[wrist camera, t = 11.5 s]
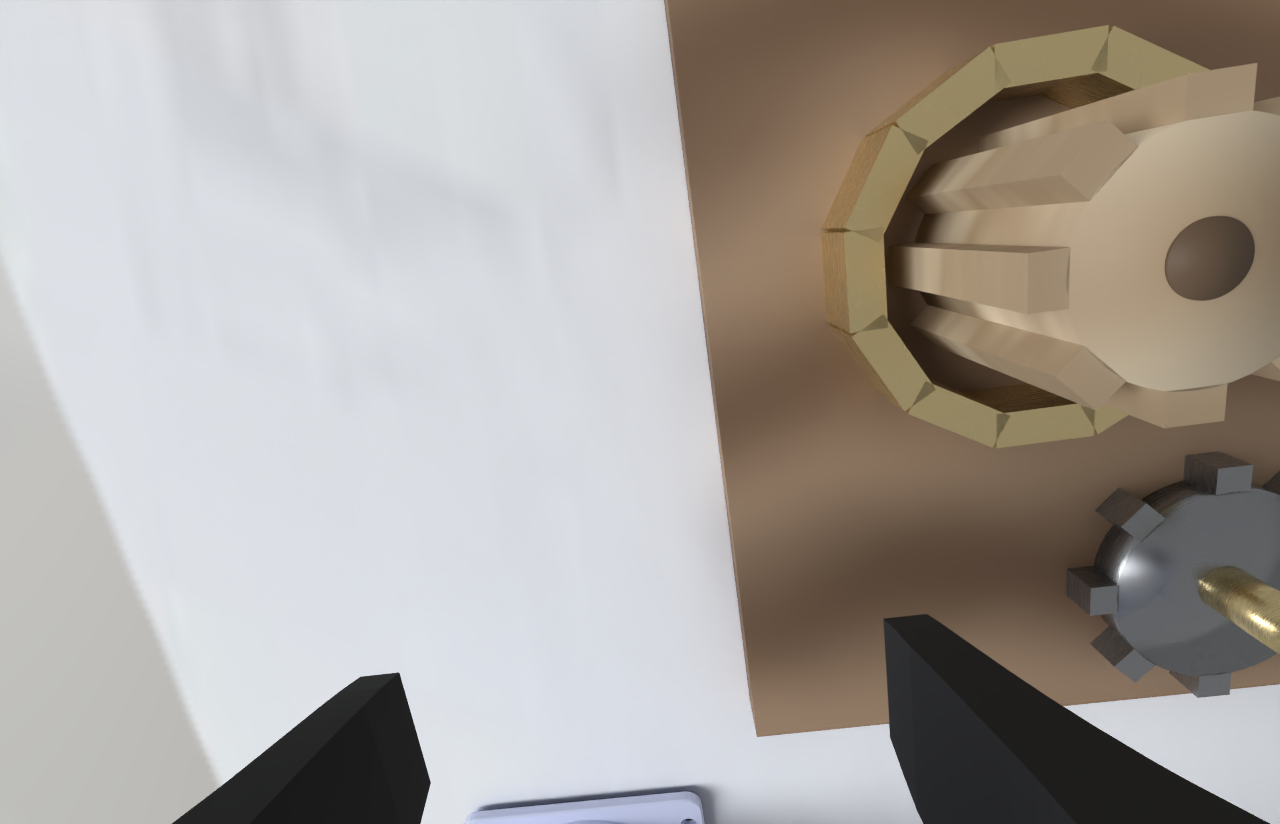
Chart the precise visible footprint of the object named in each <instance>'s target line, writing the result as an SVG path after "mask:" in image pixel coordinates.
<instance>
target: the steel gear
mask: <svg viewBox="0 0 1280 824" xmlns="http://www.w3.org/2000/svg"><path fill="white" fill-rule="evenodd" d="M1252 473H1253V464H1250V463H1248V462H1245V461H1242V460H1240V459H1237V458H1235V457H1232V456H1230V455H1227V454H1224V453H1222V452H1219V451H1216V452H1208V453H1200V454H1192V455H1185V467H1184V480H1183V481H1179V482H1176V483H1173V484H1170V485H1168V486H1165V487H1163V488H1160V489H1158V490H1156V491H1155V492H1153V493H1151V494H1149V495H1147V496H1146V497H1144V498H1143V499H1141V500H1140V499H1138V498H1136V497H1134V496H1132V495H1131V494H1129V493H1127V492H1125V491H1123V490H1122V489H1120V488H1117V489H1116V490H1115V491H1114V492H1113V493H1112V494H1111V495H1110V496H1109V497H1108V498H1107V499H1106V500H1105V501H1104V502H1103V503H1102V504H1101V505H1100V506H1099V507H1098V508H1097V509H1096V510H1095V511H1096V512H1097V513H1099V514H1100V515H1101V516H1102V517H1104V518H1105V519H1106V520H1108V521H1109V522H1110V523H1111V524H1113V526H1112V527H1111V529H1110V530H1109V531H1108V533H1107V534H1106V536H1105V538H1104V540H1103V541H1102V543H1101V545H1100V547H1099V550H1098V552H1097V555H1096V557H1095V561H1094V565H1093V566H1086V567H1077V568H1068V569H1067V585H1066V595H1067V596H1068V597H1069V598H1070V599H1071V600H1073V601H1074V602H1075V603H1076V604H1077V605H1078V606H1079V607H1080V608H1082V609H1083V610H1084V611H1085V612H1086V613H1087V614H1088V615H1089V616H1093V615H1101V617H1102V619H1103V620H1104V621H1105V623H1106V624H1107V625H1108V627H1107V628H1106V629H1105V630H1104V631H1103V632H1102V633H1101V634H1100V635H1099V636H1098V637H1096V638H1095V639H1094V640H1093V641H1092V642H1091V643H1090V644H1091V645H1092V646H1093V647H1094V648H1095V649H1096V650H1097V651H1098V652H1099V653H1100V654H1101V655H1102V656H1104V657H1105V658H1106V659H1107V660H1108V661H1109V662H1110V663H1111V664H1112V665H1113V666H1114V667H1115V668H1117V669H1118V670H1119V671H1121V672H1122V673H1123V674H1125V675H1126V676H1127V677H1129V678H1130V679H1131V680H1133V681H1134V682H1135V683H1136V682H1137V681H1138V680H1139V679H1140V678H1142V677H1143V676H1144V675H1145V674H1146V673H1147V672H1148V671H1150V670H1151V669H1152V668H1153V667H1154V666H1155V665H1157V666H1159V667H1161V668H1163V669H1166V670H1169V673H1170V674H1171V675H1172V676H1173V677H1174V678H1175V679H1177V680H1178V681H1179V682H1180V683H1181V684H1182V685H1184V686H1185V687H1186V688H1187V689H1188V690H1189V691H1191V692H1192V693H1193V694H1194V695H1195V696H1196V697H1198V698H1199V697H1209V696H1219V695H1229V693H1230V683H1231V674H1232V672H1235V671H1239V670H1243V669H1246V668H1248V667H1251V666H1254V665H1256V664H1258V663H1261V662H1263V661H1265V660H1267V659H1269V658H1271V657H1272V656H1274V655H1276V654H1277V653H1278V654H1279V655H1280V471H1278V472H1277V473H1276V474H1275V475H1274V476H1273V477H1272V478H1271V479H1270V480H1269V481H1268V482H1266V483H1265V484H1264V485H1263V486H1262V487H1260V486H1257V485H1255V484H1253V483H1251V482H1252Z"/></svg>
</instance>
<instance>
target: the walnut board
mask: <svg viewBox="0 0 1280 824" xmlns="http://www.w3.org/2000/svg"><path fill="white" fill-rule="evenodd" d="M664 3H665V11H666V19H667V27H668V36H669V44H670V52H671V60H672V68H673V76H674V84H675V93H676V101H677V109H678V117H679V125H680V133H681V142H682V150H683V158H684V166H685V174H686V182H687V190H688V199H689V207H690V215H691V223H692V231H693V239H694V247H695V256H696V264H697V272H698V280H699V288H700V296H701V305H702V313H703V321H704V329H705V337H706V345H707V353H708V362H709V370H710V378H711V386H712V394H713V402H714V410H715V419H716V427H717V435H718V443H719V451H720V459H721V468H722V476H723V484H724V492H725V500H726V508H727V516H728V525H729V533H730V541H731V549H732V557H733V565H734V573H735V582H736V590H737V598H738V606H739V614H740V622H741V630H742V639H743V647H744V655H745V663H746V671H747V679H748V688H749V696H750V703H751V708H752V713H753V718H754V723H755V729H756V734H757V737H761V736H771V735H781V734H791V733H800V732H810V731H820V730H830V729H840V728H850V727H860V726H870V725H880V724H889V708H888V691H887V673H886V656H885V638H884V621H883V619H884V618H893V617H902V616H911V615H920V614H928V615H930V616H931V617H933V618H934V619H936V620H937V621H939V622H940V623H942V624H943V625H944V626H946V627H947V628H949V629H950V630H952V631H953V632H954V633H956V634H957V635H959V636H960V637H962V638H963V639H964V640H966V641H967V642H969V643H970V644H972V645H973V646H974V647H976V648H977V649H979V650H980V651H982V652H983V653H984V654H986V655H987V656H989V657H990V658H992V659H993V660H995V661H996V662H997V663H999V664H1000V665H1002V666H1003V667H1005V668H1006V669H1008V670H1009V671H1010V672H1012V673H1013V674H1015V675H1016V676H1018V677H1019V678H1021V679H1022V680H1024V681H1025V682H1027V683H1028V684H1030V685H1031V686H1033V687H1034V688H1036V689H1037V690H1039V691H1040V692H1042V693H1043V694H1045V695H1046V696H1048V697H1049V698H1051V699H1052V700H1054V701H1056V702H1057V703H1059V704H1060V705H1062V706H1068V705H1078V704H1088V703H1098V702H1108V701H1118V700H1128V699H1138V698H1148V697H1157V696H1167V695H1177V694H1187V693H1192V692H1191V691H1189V690H1188V689H1187V688H1186V687H1185V686H1184V685H1182V684H1181V683H1180V682H1179V681H1178V680H1177V679H1175V678H1174V677H1173V676H1172V675H1171V674H1170V673H1169V670H1166V669H1163V668H1161V667H1159V666H1157V665H1155V666H1154V667H1153V668H1152V669H1151V670H1150V671H1148V672H1147V673H1146V674H1145V675H1144V676H1143V677H1142V678H1140V679H1139V680H1138V681H1137V682H1136V683H1135V682H1134V681H1133V680H1131V679H1130V678H1129V677H1127V676H1126V675H1125V674H1123V673H1122V672H1121V671H1119V670H1118V669H1117V668H1115V667H1114V666H1113V665H1112V664H1111V663H1110V662H1109V661H1108V660H1107V659H1106V658H1105V657H1104V656H1102V655H1101V654H1100V653H1099V652H1098V651H1097V650H1096V649H1095V648H1094V647H1093V646H1092V645H1091V644H1090V643H1091V642H1092V641H1093V640H1094V639H1095V638H1096V637H1098V636H1099V635H1100V634H1101V633H1102V632H1103V631H1104V630H1105V629H1106V628H1107V627H1108V625H1107V624H1106V623H1105V621H1104V620H1103V619H1102V617H1101V615H1093V616H1089V615H1088V614H1087V613H1086V612H1085V611H1084V610H1083V609H1082V608H1080V607H1079V606H1078V605H1077V604H1076V603H1075V602H1074V601H1073V600H1071V599H1070V598H1069V597H1068V596H1067V595H1066V585H1067V569H1068V568H1077V567H1086V566H1093V565H1094V561H1095V557H1096V555H1097V552H1098V550H1099V547H1100V545H1101V543H1102V541H1103V540H1104V538H1105V536H1106V534H1107V533H1108V531H1109V530H1110V529H1111V527H1112V526H1113V524H1111V523H1110V522H1109V521H1108V520H1106V519H1105V518H1104V517H1102V516H1101V515H1100V514H1099V513H1097V512H1096V511H1095V510H1096V509H1097V508H1098V507H1099V506H1100V505H1101V504H1102V503H1103V502H1104V501H1105V500H1106V499H1107V498H1108V497H1109V496H1110V495H1111V494H1112V493H1113V492H1114V491H1115V490H1116V489H1117V488H1120V489H1122V490H1123V491H1125V492H1127V493H1129V494H1131V495H1132V496H1134V497H1136V498H1138V499H1140V500H1141V499H1143V498H1144V497H1146V496H1147V495H1149V494H1151V493H1153V492H1155V491H1156V490H1158V489H1160V488H1163V487H1165V486H1168V485H1170V484H1173V483H1176V482H1179V481H1183V480H1184V467H1185V455H1192V454H1200V453H1208V452H1216V451H1219V452H1222V453H1224V454H1227V455H1230V456H1232V457H1235V458H1237V459H1240V460H1242V461H1245V462H1248V463H1250V464H1253V473H1252V482H1251V483H1253V484H1255V485H1257V486H1260V487H1262V486H1263V485H1264V484H1265V483H1266V482H1268V481H1269V480H1270V479H1271V478H1272V477H1273V476H1274V475H1275V474H1276V473H1277V472H1278V471H1280V381H1277V380H1273V379H1269V378H1264V377H1260V376H1256V375H1252V374H1250V375H1247V376H1245V377H1243V378H1240V379H1238V380H1236V381H1233V382H1230V383H1227V384H1228V386H1227V396H1226V407H1225V418H1224V421H1219V422H1211V423H1203V424H1195V425H1187V426H1179V427H1171V428H1162V427H1159V426H1157V425H1154V424H1151V423H1149V422H1146V421H1144V420H1141V419H1138V418H1136V417H1133V416H1131V415H1128V416H1126V417H1124V418H1123V419H1121V420H1120V421H1118V422H1117V423H1115V424H1114V425H1112V426H1110V427H1109V428H1107V429H1106V430H1104V431H1103V432H1101V433H1100V434H1096V433H1094V436H1090V437H1082V438H1074V439H1066V440H1058V441H1050V442H1042V443H1035V444H1027V445H1019V446H1011V447H1003V448H995V447H994V446H993V448H992V447H989V446H987V445H984V444H982V443H979V442H977V441H974V440H972V439H969V438H967V437H964V436H962V435H959V434H957V433H954V432H952V431H949V430H947V429H944V428H942V427H939V426H937V425H934V424H932V423H929V422H927V421H924V420H922V419H919V418H917V417H914V416H912V415H909V414H907V413H906V412H905V411H903V410H902V409H900V408H899V407H898V406H896V405H895V404H893V403H892V402H891V401H889V400H888V399H887V398H885V397H884V396H882V395H881V394H880V393H878V392H877V391H876V390H875V389H874V388H873V386H872V385H871V383H870V382H869V381H868V379H867V378H866V376H865V375H864V374H863V372H862V371H861V370H860V368H859V367H858V365H857V364H856V363H855V361H854V360H853V358H852V357H851V356H850V354H849V353H848V351H847V350H846V349H845V347H844V346H843V345H842V343H841V342H840V340H839V339H838V338H837V336H836V335H835V333H834V332H833V331H832V329H831V328H830V327H829V325H828V324H830V322H828V321H827V316H826V303H825V289H824V275H823V261H822V248H821V234H820V233H823V232H828V231H825V230H823V229H821V228H822V226H823V224H824V221H825V219H826V217H827V215H828V213H829V210H830V208H831V206H832V204H833V202H834V199H835V197H836V195H837V193H838V191H839V188H840V186H841V184H842V182H843V180H844V177H845V175H846V173H847V171H848V169H849V166H850V164H851V162H852V160H853V158H854V155H855V153H856V151H857V149H858V147H859V144H860V142H861V140H862V139H864V138H866V137H865V135H866V134H867V133H869V132H870V131H871V130H872V129H874V128H875V127H876V126H877V125H879V124H880V123H881V122H883V121H884V120H885V119H886V118H888V117H889V116H890V115H891V114H893V113H894V112H895V111H896V110H898V109H899V108H900V107H901V106H903V105H904V104H905V103H906V102H908V101H909V100H910V99H911V98H913V97H914V96H915V95H917V94H918V93H919V92H920V91H922V90H923V89H924V88H925V87H927V86H928V85H929V84H930V83H932V82H933V81H934V80H935V79H937V78H938V77H939V76H940V75H942V74H943V73H944V72H946V71H947V70H949V69H951V68H953V67H954V66H956V65H958V64H960V63H961V62H963V61H965V60H967V59H968V58H970V57H972V56H974V55H975V54H977V53H979V52H981V51H982V50H984V49H986V48H988V47H989V46H992V45H994V44H998V43H1004V42H1010V41H1016V40H1022V39H1028V38H1034V37H1040V36H1046V35H1052V34H1058V33H1064V32H1070V31H1076V30H1082V29H1088V28H1094V27H1100V26H1106V25H1109V27H1112V26H1116V27H1118V28H1120V29H1122V30H1124V31H1127V32H1129V33H1131V34H1133V35H1135V36H1137V37H1140V38H1142V39H1144V40H1146V41H1148V42H1150V43H1153V44H1155V45H1157V46H1159V47H1161V48H1163V49H1166V50H1168V51H1170V52H1172V53H1174V54H1177V55H1179V56H1181V57H1183V58H1185V59H1187V60H1190V61H1192V62H1194V63H1196V64H1198V65H1200V66H1203V67H1205V68H1207V69H1209V70H1215V69H1221V68H1228V67H1234V66H1240V65H1247V64H1253V63H1257V74H1256V84H1255V95H1254V102H1258V101H1262V100H1267V99H1271V98H1276V97H1280V0H664ZM1067 110H1071V109H1070V108H1068V107H1066V106H1064V105H1062V104H1059V103H1057V102H1055V101H1053V100H1050V99H1048V98H1046V97H1044V96H1041V95H1033V96H1026V97H1020V98H1014V99H1008V100H1002V101H996V102H989V103H984V104H982V105H981V106H980V107H979V108H977V109H976V110H975V111H973V112H972V113H971V114H970V115H968V116H967V117H966V118H964V119H963V120H962V121H961V122H959V123H958V124H957V125H955V126H954V127H953V128H951V129H950V130H949V131H948V132H946V133H945V134H944V135H942V136H941V137H940V138H939V139H937V140H936V141H935V142H933V143H932V144H931V145H930V146H928V147H927V148H926V149H925V150H924V152H923V154H922V156H921V158H920V160H919V162H918V164H917V166H916V168H915V170H914V173H913V175H912V177H911V179H910V181H909V183H908V185H907V187H906V189H905V191H904V193H903V195H902V197H901V200H900V202H899V204H898V206H897V208H896V210H895V212H894V214H893V216H892V218H891V220H890V222H889V225H888V227H887V229H886V231H885V233H884V256H885V277H886V297H887V318H888V321H889V323H890V324H891V326H892V327H893V329H894V330H895V331H896V333H897V334H898V336H899V337H900V339H901V340H902V341H903V343H904V344H905V346H906V347H907V349H908V350H909V351H910V353H911V354H912V356H913V357H914V359H915V360H916V361H917V363H918V364H919V366H920V367H921V369H922V370H923V372H924V373H925V374H926V376H927V377H928V378H930V379H933V380H935V381H938V382H940V383H943V384H945V385H947V386H950V387H952V388H955V389H957V390H960V391H962V392H966V391H973V390H981V389H988V388H996V387H1003V386H1011V385H1018V384H1026V382H1024V381H1021V380H1019V379H1016V378H1014V377H1011V376H1009V375H1006V374H1004V373H1001V372H999V371H996V370H994V369H991V368H989V367H986V366H984V365H982V364H979V363H977V362H974V361H972V360H969V359H967V358H964V357H962V356H959V355H957V354H954V353H952V352H949V351H947V350H944V349H942V348H939V347H937V346H936V345H935V344H933V343H932V342H931V341H930V340H928V339H927V338H926V337H925V336H923V335H922V334H921V333H920V332H919V331H917V330H916V329H915V328H914V327H912V326H911V325H910V324H911V323H912V322H913V321H914V320H915V318H916V317H917V316H918V315H919V314H920V313H921V312H922V310H923V309H924V308H925V307H926V306H927V303H926V302H925V300H924V299H923V297H922V295H921V293H920V291H918V290H913V289H909V288H904V287H899V286H895V285H890V265H889V246H894V245H901V244H907V243H914V242H915V238H916V235H917V231H918V228H919V226H920V223H921V221H922V218H923V216H924V215H925V214H924V213H923V212H922V211H920V210H919V209H918V208H917V207H916V206H914V205H913V204H912V203H911V202H910V201H908V200H907V199H906V197H907V195H908V194H909V193H910V192H911V190H912V189H913V188H914V187H915V186H916V184H917V183H918V182H919V181H920V179H921V178H922V177H923V176H924V175H925V173H926V172H927V171H928V170H929V168H930V167H931V166H932V165H933V164H937V163H941V162H945V161H949V160H953V159H957V158H961V157H964V156H968V155H972V154H976V153H979V137H982V136H985V135H988V134H992V133H995V132H998V131H1002V130H1005V129H1008V128H1012V127H1015V126H1018V125H1021V124H1025V123H1028V122H1031V121H1035V120H1038V119H1041V118H1044V117H1048V116H1051V115H1054V114H1058V113H1061V112H1064V111H1067ZM1276 684H1280V655H1279V654H1278V653H1277V654H1276V655H1274V656H1272V657H1271V658H1269V659H1267V660H1265V661H1263V662H1261V663H1258V664H1256V665H1254V666H1251V667H1248V668H1246V669H1243V670H1239V671H1235V672H1232V674H1231V683H1230V689H1237V688H1247V687H1257V686H1267V685H1276Z"/></svg>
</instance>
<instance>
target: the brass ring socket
mask: <svg viewBox="0 0 1280 824" xmlns="http://www.w3.org/2000/svg"><path fill="white" fill-rule="evenodd" d="M1203 71H1209V69H1207V68H1205V67H1203V66H1200V65H1198V64H1196V63H1194V62H1192V61H1190V60H1187V59H1185V58H1183V57H1181V56H1179V55H1177V54H1174V53H1172V52H1170V51H1168V50H1166V49H1163V48H1161V47H1159V46H1157V45H1155V44H1153V43H1150V42H1148V41H1146V40H1144V39H1142V38H1140V37H1137V36H1135V35H1133V34H1131V33H1129V32H1127V31H1124V30H1122V29H1120V28H1118V27H1116V26H1112V27H1109V25H1106V26H1100V27H1094V28H1088V29H1082V30H1076V31H1070V32H1064V33H1058V34H1052V35H1046V36H1040V37H1034V38H1028V39H1022V40H1016V41H1010V42H1004V43H998V44H994V45H992V46H989V47H988V48H986V49H984V50H982V51H981V52H979V53H977V54H975V55H974V56H972V57H970V58H968V59H967V60H965V61H963V62H961V63H960V64H958V65H956V66H954V67H953V68H951V69H949V70H947V71H946V72H944V73H943V74H942V75H940V76H939V77H938V78H937V79H935V80H934V81H933V82H932V83H930V84H929V85H928V86H927V87H925V88H924V89H923V90H922V91H920V92H919V93H918V94H917V95H915V96H914V97H913V98H911V99H910V100H909V101H908V102H906V103H905V104H904V105H903V106H901V107H900V108H899V109H898V110H896V111H895V112H894V113H893V114H891V115H890V116H889V117H888V118H886V119H885V120H884V121H883V122H881V123H880V124H879V125H877V126H876V127H875V128H874V129H872V130H871V131H870V132H869V133H867V134H866V135H865V137H866V138H864V139H862V140H861V142H860V144H859V147H858V149H857V151H856V153H855V155H854V158H853V160H852V162H851V164H850V166H849V169H848V171H847V173H846V175H845V177H844V180H843V182H842V184H841V186H840V188H839V191H838V193H837V195H836V197H835V199H834V202H833V204H832V206H831V208H830V210H829V213H828V215H827V217H826V219H825V221H824V224H823V226H822V228H821V229H823V230H825V231H828V232H823V233H820V234H821V248H822V261H823V275H824V289H825V303H826V316H827V321H828V322H830V324H828V325H829V327H830V328H831V329H832V331H833V332H834V333H835V335H836V336H837V338H838V339H839V340H840V342H841V343H842V345H843V346H844V347H845V349H846V350H847V351H848V353H849V354H850V356H851V357H852V358H853V360H854V361H855V363H856V364H857V365H858V367H859V368H860V370H861V371H862V372H863V374H864V375H865V376H866V378H867V379H868V381H869V382H870V383H871V385H872V386H873V388H874V389H875V390H876V391H877V392H878V393H880V394H881V395H882V396H884V397H885V398H887V399H888V400H889V401H891V402H892V403H893V404H895V405H896V406H898V407H899V408H900V409H902V410H903V411H905V412H906V413H907V414H909V415H912V416H914V417H917V418H919V419H922V420H924V421H927V422H929V423H932V424H934V425H937V426H939V427H942V428H944V429H947V430H949V431H952V432H954V433H957V434H959V435H962V436H964V437H967V438H969V439H972V440H974V441H977V442H979V443H982V444H984V445H987V446H989V447H992V448H993V446H994V447H995V448H1003V447H1011V446H1019V445H1027V444H1035V443H1042V442H1050V441H1058V440H1066V439H1074V438H1082V437H1090V436H1094V433H1096V434H1100V433H1101V432H1103V431H1104V430H1106V429H1107V428H1109V427H1110V426H1112V425H1114V424H1115V423H1117V422H1118V421H1120V420H1121V419H1123V418H1124V417H1126V416H1128V414H1125V413H1123V412H1120V411H1118V410H1115V409H1112V408H1110V407H1107V406H1104V405H1102V406H1101V407H1100V408H1099V409H1098V410H1097V411H1096V410H1093V409H1091V408H1088V407H1086V406H1083V405H1081V404H1078V403H1076V402H1073V401H1071V400H1068V399H1066V398H1063V397H1061V396H1058V395H1056V394H1053V393H1051V392H1048V391H1046V390H1044V389H1041V388H1039V387H1036V386H1034V385H1031V384H1029V383H1026V384H1018V385H1011V386H1003V387H996V388H988V389H981V390H973V391H966V392H962V391H960V390H957V389H955V388H952V387H950V386H947V385H945V384H943V383H940V382H938V381H935V380H933V379H930V378H928V377H927V376H926V374H925V373H924V372H923V370H922V369H921V367H920V366H919V364H918V363H917V361H916V360H915V359H914V357H913V356H912V354H911V353H910V351H909V350H908V349H907V347H906V346H905V344H904V343H903V341H902V340H901V339H900V337H899V336H898V334H897V333H896V331H895V330H894V329H893V327H892V326H891V324H890V323H889V321H888V318H887V297H886V277H885V256H884V233H885V231H886V229H887V227H888V225H889V222H890V220H891V218H892V216H893V214H894V212H895V210H896V208H897V206H898V204H899V202H900V200H901V197H902V195H903V193H904V191H905V189H906V187H907V185H908V183H909V181H910V179H911V177H912V175H913V173H914V170H915V168H916V166H917V164H918V162H919V160H920V158H921V156H922V154H923V152H924V150H925V149H926V148H927V147H928V146H930V145H931V144H932V143H933V142H935V141H936V140H937V139H939V138H940V137H941V136H942V135H944V134H945V133H946V132H948V131H949V130H950V129H951V128H953V127H954V126H955V125H957V124H958V123H959V122H961V121H962V120H963V119H964V118H966V117H967V116H968V115H970V114H971V113H972V112H973V111H975V110H976V109H977V108H979V107H980V106H981V105H982V104H984V103H989V102H996V101H1002V100H1008V99H1014V98H1020V97H1026V96H1033V95H1041V96H1044V97H1046V98H1048V99H1050V100H1053V101H1055V102H1057V103H1059V104H1062V105H1064V106H1066V107H1068V108H1070V109H1074V108H1077V107H1081V106H1084V105H1087V104H1090V103H1094V102H1097V101H1100V100H1104V99H1107V98H1110V97H1113V96H1117V95H1120V94H1123V93H1127V92H1130V91H1133V90H1137V89H1140V88H1143V87H1146V86H1150V85H1153V84H1156V83H1160V82H1163V81H1166V80H1169V79H1173V78H1176V77H1179V76H1183V75H1186V74H1190V73H1196V72H1203Z"/></svg>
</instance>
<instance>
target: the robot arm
mask: <svg viewBox="0 0 1280 824" xmlns="http://www.w3.org/2000/svg"><path fill="white" fill-rule="evenodd" d="M883 621H884V638H885V656H886V673H887V691H888V708H889V725H890V738H891V741H892V744H893V746H894V749H895V752H896V755H897V757H898V760H899V763H900V766H901V769H902V771H903V774H904V777H905V780H906V782H907V785H908V788H909V790H910V793H911V796H912V798H913V801H914V803H915V806H916V809H917V811H918V813H919V815H920V817H921V819H922V822H923V824H1270V823H1268V822H1266V821H1264V820H1262V819H1260V818H1258V817H1256V816H1254V815H1252V814H1250V813H1248V812H1247V811H1245V810H1243V809H1241V808H1239V807H1237V806H1235V805H1233V804H1231V803H1229V802H1228V801H1226V800H1224V799H1222V798H1220V797H1218V796H1216V795H1214V794H1212V793H1210V792H1208V791H1207V790H1205V789H1203V788H1201V787H1199V786H1197V785H1195V784H1193V783H1191V782H1189V781H1188V780H1186V779H1184V778H1182V777H1180V776H1179V775H1177V774H1175V773H1173V772H1171V771H1170V770H1168V769H1166V768H1164V767H1163V766H1161V765H1159V764H1157V763H1155V762H1154V761H1152V760H1150V759H1149V758H1147V757H1145V756H1144V755H1142V754H1140V753H1139V752H1137V751H1135V750H1133V749H1132V748H1130V747H1128V746H1127V745H1125V744H1123V743H1122V742H1120V741H1118V740H1117V739H1115V738H1113V737H1112V736H1110V735H1108V734H1107V733H1105V732H1103V731H1102V730H1100V729H1098V728H1097V727H1095V726H1093V725H1092V724H1090V723H1089V722H1087V721H1085V720H1084V719H1082V718H1081V717H1079V716H1077V715H1076V714H1074V713H1073V712H1071V711H1070V710H1068V709H1066V708H1065V707H1063V706H1062V705H1060V704H1059V703H1057V702H1056V701H1054V700H1052V699H1051V698H1049V697H1048V696H1046V695H1045V694H1043V693H1042V692H1040V691H1039V690H1037V689H1036V688H1034V687H1033V686H1031V685H1030V684H1028V683H1027V682H1025V681H1024V680H1022V679H1021V678H1019V677H1018V676H1016V675H1015V674H1013V673H1012V672H1010V671H1009V670H1008V669H1006V668H1005V667H1003V666H1002V665H1000V664H999V663H997V662H996V661H995V660H993V659H992V658H990V657H989V656H987V655H986V654H984V653H983V652H982V651H980V650H979V649H977V648H976V647H974V646H973V645H972V644H970V643H969V642H967V641H966V640H964V639H963V638H962V637H960V636H959V635H957V634H956V633H954V632H953V631H952V630H950V629H949V628H947V627H946V626H944V625H943V624H942V623H940V622H939V621H937V620H936V619H934V618H933V617H931V616H930V615H928V614H920V615H911V616H902V617H893V618H884V619H883ZM430 783H431V782H430V779H429V775H428V772H427V768H426V765H425V761H424V758H423V754H422V751H421V747H420V744H419V740H418V737H417V733H416V730H415V726H414V723H413V719H412V716H411V712H410V709H409V705H408V702H407V698H406V695H405V691H404V688H403V684H402V681H401V677H400V674H399V673H391V674H382V675H373V676H364V677H360V678H358V679H357V680H355V681H354V682H352V683H351V684H350V685H348V686H347V687H345V688H344V689H343V690H341V691H340V692H339V693H337V694H336V695H335V696H333V697H332V698H331V699H330V700H328V701H327V702H326V703H324V704H323V705H322V706H321V707H319V708H318V709H317V710H316V711H314V712H313V713H312V714H311V715H309V716H308V717H307V718H306V719H304V720H303V721H302V722H301V723H299V724H298V725H297V726H296V727H294V728H293V729H292V730H291V731H289V732H288V733H287V734H286V735H285V736H283V737H282V738H281V739H280V740H278V741H277V742H276V743H275V744H273V745H272V746H271V747H270V748H268V749H267V750H266V751H265V752H263V753H262V754H261V755H260V756H258V757H257V758H256V759H255V760H253V761H252V762H251V763H250V764H248V765H247V766H246V767H245V768H243V769H242V770H241V771H240V772H239V773H237V774H236V775H235V776H234V777H232V778H231V779H230V780H229V781H227V782H226V783H225V784H223V785H222V786H221V787H220V788H218V789H217V790H216V791H214V792H213V793H212V794H210V795H209V796H208V797H206V798H205V799H204V800H203V801H201V802H200V803H198V804H197V805H196V806H195V807H193V808H192V809H191V810H189V811H188V812H187V813H185V814H184V815H183V816H181V817H180V818H179V819H178V820H176V821H175V822H173V823H172V824H420V823H421V819H422V815H423V811H424V807H425V803H426V799H427V795H428V791H429V787H430ZM684 819H693V820H690V821H687V820H684ZM465 824H705V822H704V815H703V809H702V802H701V800H700V798H699V797H698V796H697V795H696V794H694V793H692V792H685V791H684V792H674V793H663V794H653V795H642V796H632V797H622V798H611V799H601V800H590V801H580V802H569V803H559V804H549V805H538V806H528V807H517V808H507V809H497V810H486V811H477V812H473V813H471V814H470V815H468V816H467V818H466V821H465Z"/></svg>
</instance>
